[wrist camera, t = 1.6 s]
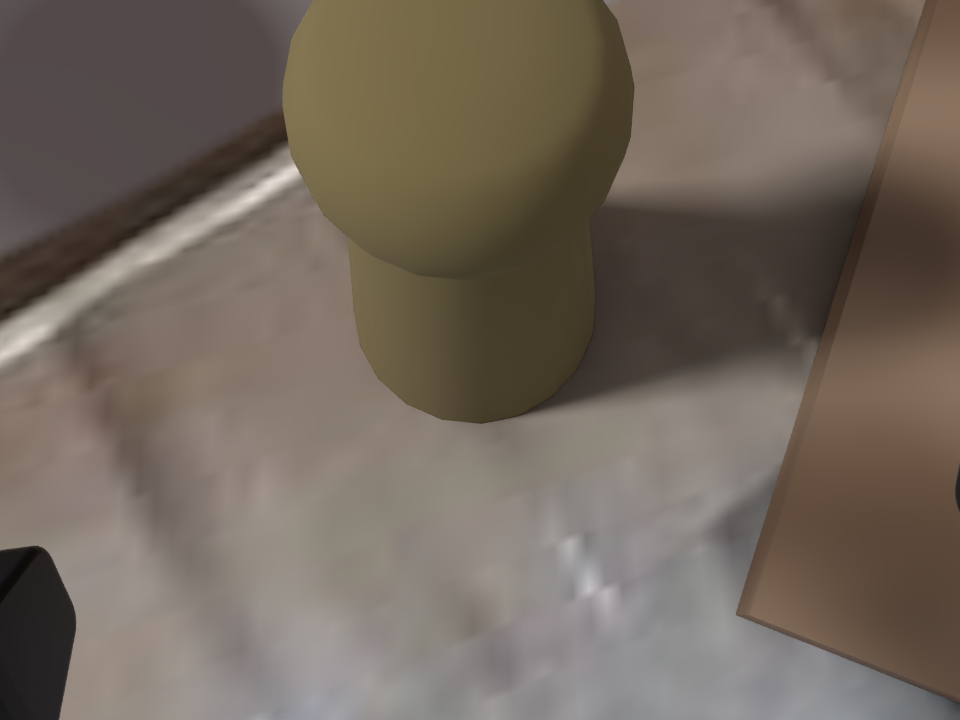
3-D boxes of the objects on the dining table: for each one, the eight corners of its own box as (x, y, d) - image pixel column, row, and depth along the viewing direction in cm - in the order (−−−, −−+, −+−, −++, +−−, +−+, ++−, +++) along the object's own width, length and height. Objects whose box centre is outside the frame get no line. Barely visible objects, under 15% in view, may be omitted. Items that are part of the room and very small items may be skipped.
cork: (620, 224, 23) (724, -102, 12) (563, 451, 22) (626, 301, 11) (393, 170, 24) (307, -189, 13) (322, 387, 22) (158, 185, 11)
